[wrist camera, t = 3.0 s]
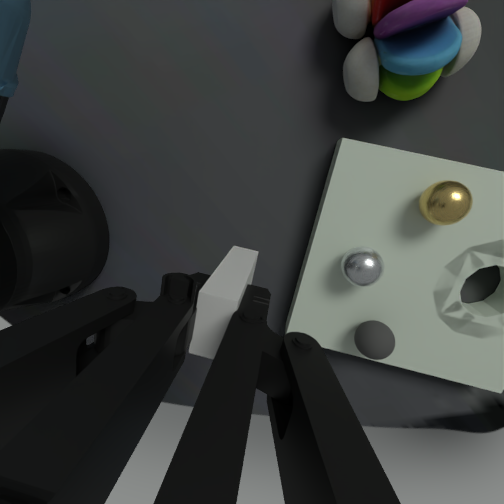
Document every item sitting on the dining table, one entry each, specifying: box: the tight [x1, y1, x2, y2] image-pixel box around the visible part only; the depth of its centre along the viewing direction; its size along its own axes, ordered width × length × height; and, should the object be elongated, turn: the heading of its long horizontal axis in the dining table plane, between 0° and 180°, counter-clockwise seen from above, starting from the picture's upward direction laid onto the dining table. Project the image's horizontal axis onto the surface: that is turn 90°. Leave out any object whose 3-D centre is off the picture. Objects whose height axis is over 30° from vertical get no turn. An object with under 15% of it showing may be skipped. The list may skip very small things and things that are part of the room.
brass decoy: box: [419, 180, 473, 226], centre depth 20 cm, size 3×3×3 cm
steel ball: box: [341, 246, 384, 287], centre depth 22 cm, size 3×3×3 cm
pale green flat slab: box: [285, 138, 504, 393], centre depth 25 cm, size 20×18×2 cm
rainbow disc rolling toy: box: [332, 0, 481, 102], centre depth 18 cm, size 8×10×7 cm
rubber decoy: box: [354, 320, 395, 360], centre depth 24 cm, size 3×3×3 cm
